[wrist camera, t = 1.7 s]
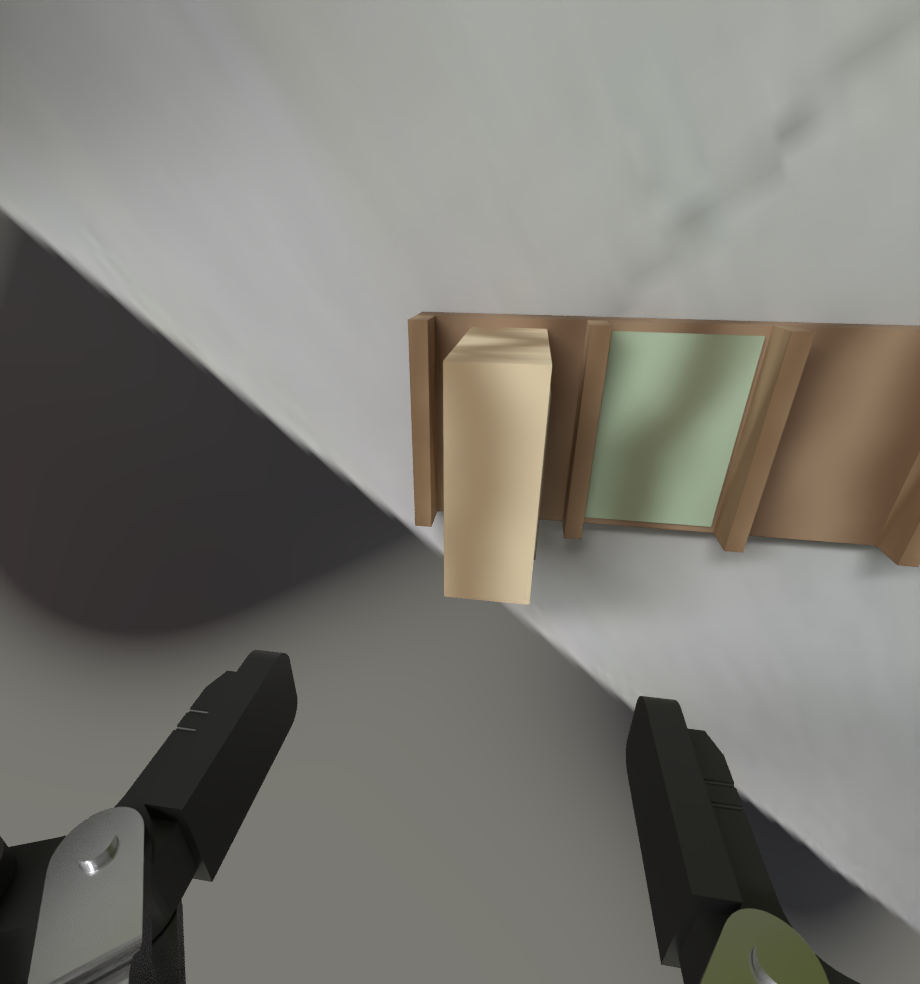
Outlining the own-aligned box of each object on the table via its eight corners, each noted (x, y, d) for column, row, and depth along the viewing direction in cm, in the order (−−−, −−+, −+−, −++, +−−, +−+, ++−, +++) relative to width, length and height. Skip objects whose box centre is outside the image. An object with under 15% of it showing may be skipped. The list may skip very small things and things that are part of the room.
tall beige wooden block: (550, 328, 25) (556, 365, 17) (533, 511, 30) (532, 605, 22) (468, 326, 26) (439, 360, 18) (465, 506, 31) (441, 595, 23)
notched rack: (974, 327, 24) (1039, 339, 21) (877, 533, 29) (917, 566, 26) (422, 312, 27) (407, 319, 24) (426, 499, 33) (415, 525, 30)
